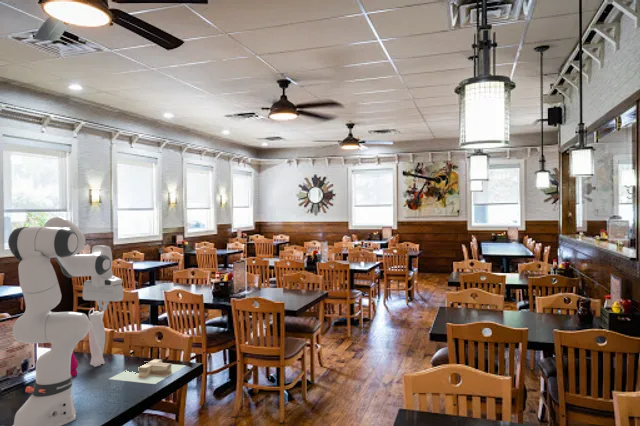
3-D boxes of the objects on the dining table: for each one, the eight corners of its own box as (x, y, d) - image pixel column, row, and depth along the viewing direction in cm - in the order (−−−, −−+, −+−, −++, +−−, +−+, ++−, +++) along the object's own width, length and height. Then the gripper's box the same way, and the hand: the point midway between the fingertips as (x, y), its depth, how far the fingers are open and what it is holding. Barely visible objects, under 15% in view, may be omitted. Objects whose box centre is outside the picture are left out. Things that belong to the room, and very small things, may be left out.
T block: (161, 378, 203) (160, 369, 203) (138, 376, 206) (138, 367, 206) (176, 369, 214) (176, 360, 214) (155, 367, 217) (154, 358, 217)
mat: (155, 384, 196) (155, 384, 196) (108, 379, 203) (108, 378, 203) (186, 366, 219) (186, 365, 219) (143, 362, 226) (143, 361, 226)
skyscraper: (86, 364, 224) (85, 308, 224) (101, 360, 230) (100, 306, 230) (93, 367, 219) (91, 310, 219) (108, 363, 225) (107, 308, 224)
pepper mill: (59, 379, 205) (58, 335, 204) (61, 374, 211) (60, 332, 211) (77, 376, 208) (76, 333, 207) (79, 371, 214) (78, 330, 214)
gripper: (78, 280, 206) (79, 310, 206) (115, 281, 200) (116, 312, 200) (89, 278, 212) (90, 307, 212) (125, 279, 206) (126, 309, 206)
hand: (103, 310), depth 206 cm, fingers closed
